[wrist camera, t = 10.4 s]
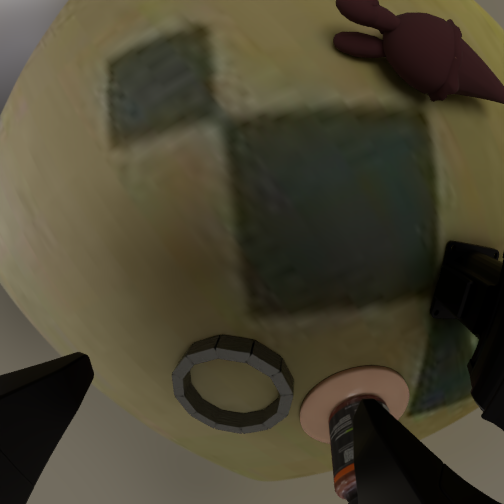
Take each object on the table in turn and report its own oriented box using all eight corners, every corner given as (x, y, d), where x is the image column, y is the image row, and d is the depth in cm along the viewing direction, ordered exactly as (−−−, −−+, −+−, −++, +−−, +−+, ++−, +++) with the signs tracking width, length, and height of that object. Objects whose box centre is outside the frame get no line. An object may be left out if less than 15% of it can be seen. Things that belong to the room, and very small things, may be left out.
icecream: (523, 51, 7) (341, -35, 9) (547, 125, 7) (330, 14, 9) (487, 88, 13) (335, 26, 16) (496, 156, 14) (323, 84, 16)
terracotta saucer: (423, 364, 20) (426, 369, 19) (383, 437, 23) (385, 441, 22) (312, 362, 21) (313, 368, 21) (291, 437, 24) (290, 442, 23)
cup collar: (301, 345, 21) (301, 359, 19) (282, 424, 24) (281, 438, 22) (177, 326, 22) (168, 338, 20) (183, 407, 25) (177, 420, 23)
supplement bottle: (368, 433, 22) (384, 519, 11) (317, 427, 22) (320, 524, 11) (397, 394, 20) (431, 488, 9) (344, 387, 21) (363, 497, 10)
